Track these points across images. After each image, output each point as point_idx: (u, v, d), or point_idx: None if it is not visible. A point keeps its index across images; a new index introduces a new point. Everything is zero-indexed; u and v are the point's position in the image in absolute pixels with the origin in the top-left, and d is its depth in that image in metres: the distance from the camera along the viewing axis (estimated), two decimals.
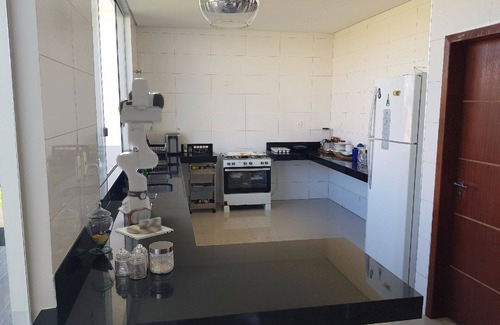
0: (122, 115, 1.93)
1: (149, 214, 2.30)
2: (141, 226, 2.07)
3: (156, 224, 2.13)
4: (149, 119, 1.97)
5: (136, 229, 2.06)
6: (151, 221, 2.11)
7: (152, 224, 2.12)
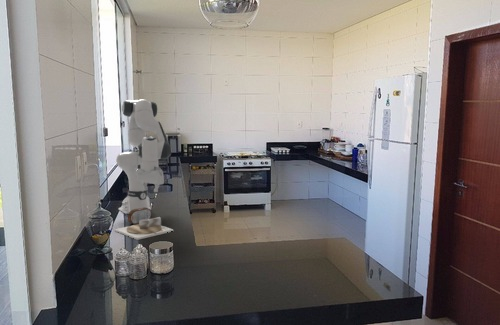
0: (137, 177, 2.20)
1: (149, 214, 2.30)
2: (141, 226, 2.07)
3: (156, 224, 2.13)
4: (152, 182, 2.12)
5: (136, 229, 2.06)
6: (151, 221, 2.11)
7: (152, 224, 2.12)
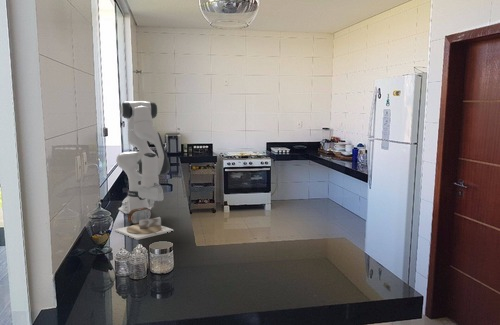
0: (138, 193, 2.22)
1: (149, 214, 2.30)
2: (141, 226, 2.07)
3: (156, 224, 2.13)
4: (151, 199, 2.13)
5: (136, 229, 2.06)
6: (151, 221, 2.11)
7: (152, 224, 2.12)
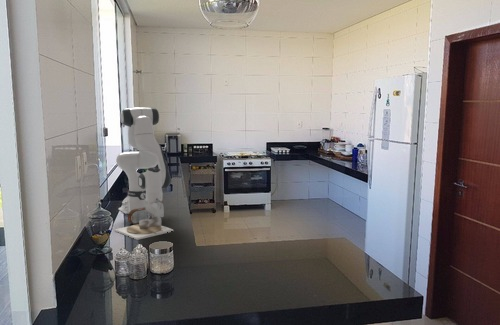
0: (145, 206, 2.22)
1: (149, 214, 2.30)
2: (141, 226, 2.07)
3: (156, 224, 2.13)
4: (153, 214, 2.12)
5: (136, 229, 2.06)
6: (151, 221, 2.11)
7: (152, 224, 2.11)
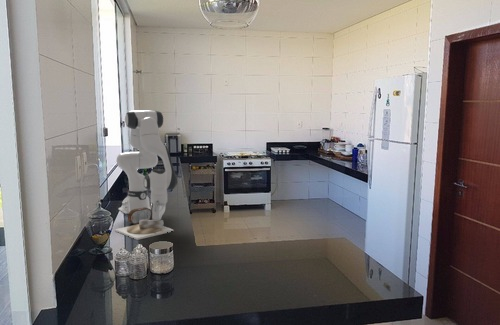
0: None
1: (149, 214, 2.30)
2: (139, 225, 2.08)
3: (157, 226, 2.09)
4: None
5: (135, 228, 2.08)
6: (151, 222, 2.08)
7: (152, 226, 2.08)
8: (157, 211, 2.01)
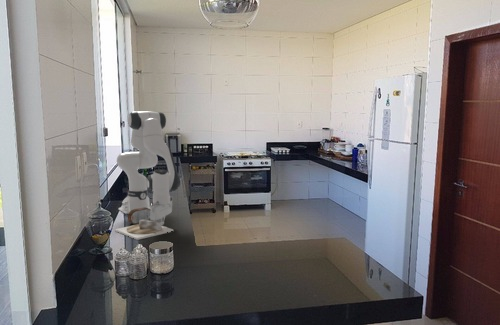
0: None
1: (149, 214, 2.30)
2: None
3: (154, 228, 2.06)
4: None
5: (136, 227, 2.10)
6: (149, 223, 2.07)
7: (150, 226, 2.07)
8: (154, 212, 2.01)
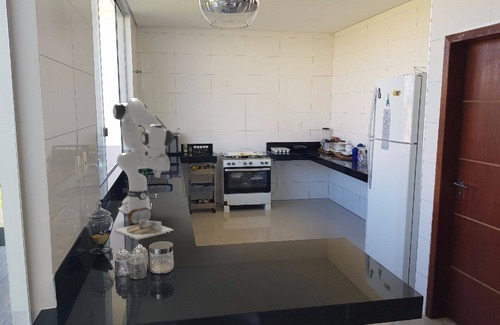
0: (145, 163, 2.26)
1: (149, 214, 2.30)
2: None
3: (154, 228, 2.06)
4: (158, 169, 2.18)
5: (136, 227, 2.10)
6: (149, 223, 2.07)
7: (150, 226, 2.07)
8: (168, 162, 2.15)
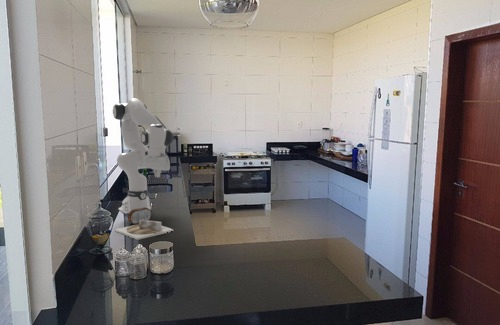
0: (145, 163, 2.26)
1: (149, 214, 2.30)
2: None
3: (154, 228, 2.06)
4: (158, 168, 2.18)
5: (136, 227, 2.10)
6: (149, 223, 2.07)
7: (150, 226, 2.07)
8: (168, 161, 2.15)
